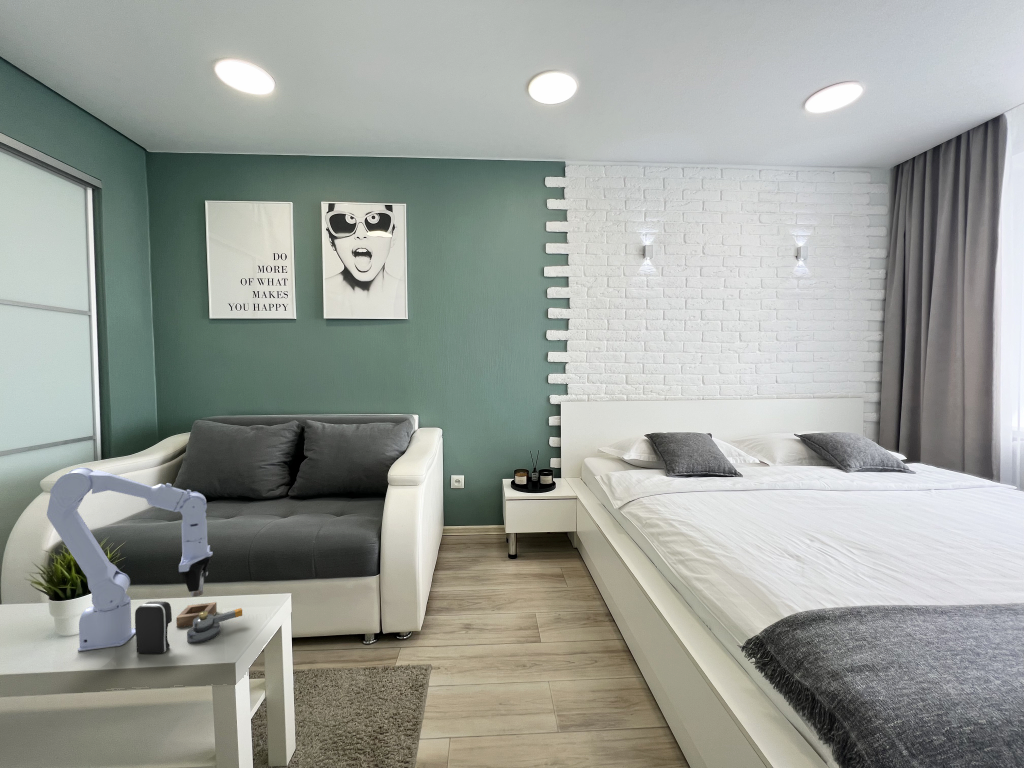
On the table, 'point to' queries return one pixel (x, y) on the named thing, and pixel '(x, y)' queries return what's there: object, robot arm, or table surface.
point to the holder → (194, 613)
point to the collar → (214, 620)
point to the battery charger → (152, 627)
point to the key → (200, 590)
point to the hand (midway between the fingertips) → (196, 588)
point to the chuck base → (203, 632)
